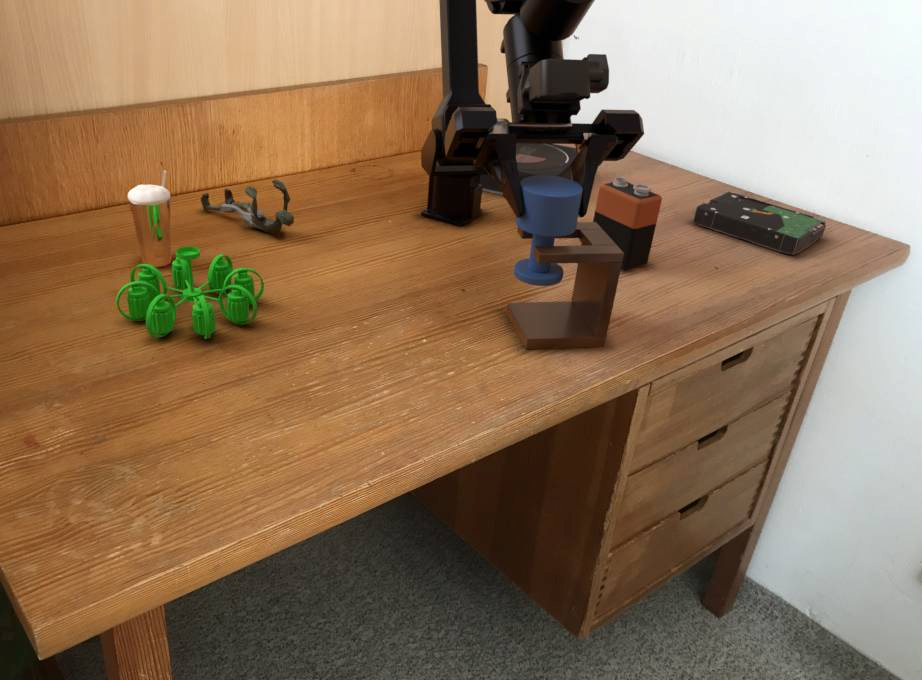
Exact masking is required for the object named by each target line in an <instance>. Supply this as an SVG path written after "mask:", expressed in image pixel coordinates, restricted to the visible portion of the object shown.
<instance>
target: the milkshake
mask: <svg viewBox="0 0 922 680" xmlns="http://www.w3.org/2000/svg"><path fill="white" fill-rule="evenodd" d="M167 174H168V171H167V170H163V171H162V178H161V184H160V185H156V184H138V185H136V186H135V187H133V188H131V189H130V190H129V191H128V193H127V200H128V204H129V207H130V211H131V215H132V219H133V225H134V229H135V232H136V233H135V234H136V238H137V243H138V247H139V252H140V256H141V259H142V260H141V262H142V264H149V265H151V266H153V267H155V268H156V269H158V268H161V267H166V266H169V265H170V264H172V236H171V235H172V232H171V231H172V230H171V214H172V213H171V202H172V201H171V198H172V197H171V193H170V190H168V188H166V187H165V186H166V180H167Z"/></svg>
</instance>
